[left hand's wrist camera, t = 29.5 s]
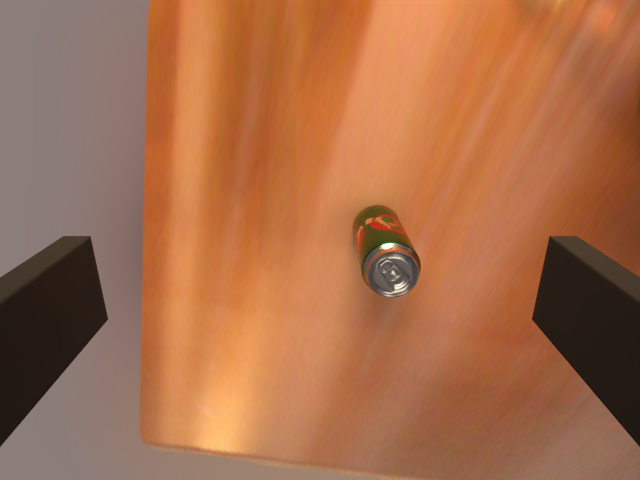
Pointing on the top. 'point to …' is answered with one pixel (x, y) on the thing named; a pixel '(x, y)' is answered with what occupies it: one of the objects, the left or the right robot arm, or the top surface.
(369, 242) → the soda can
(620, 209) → the top surface
